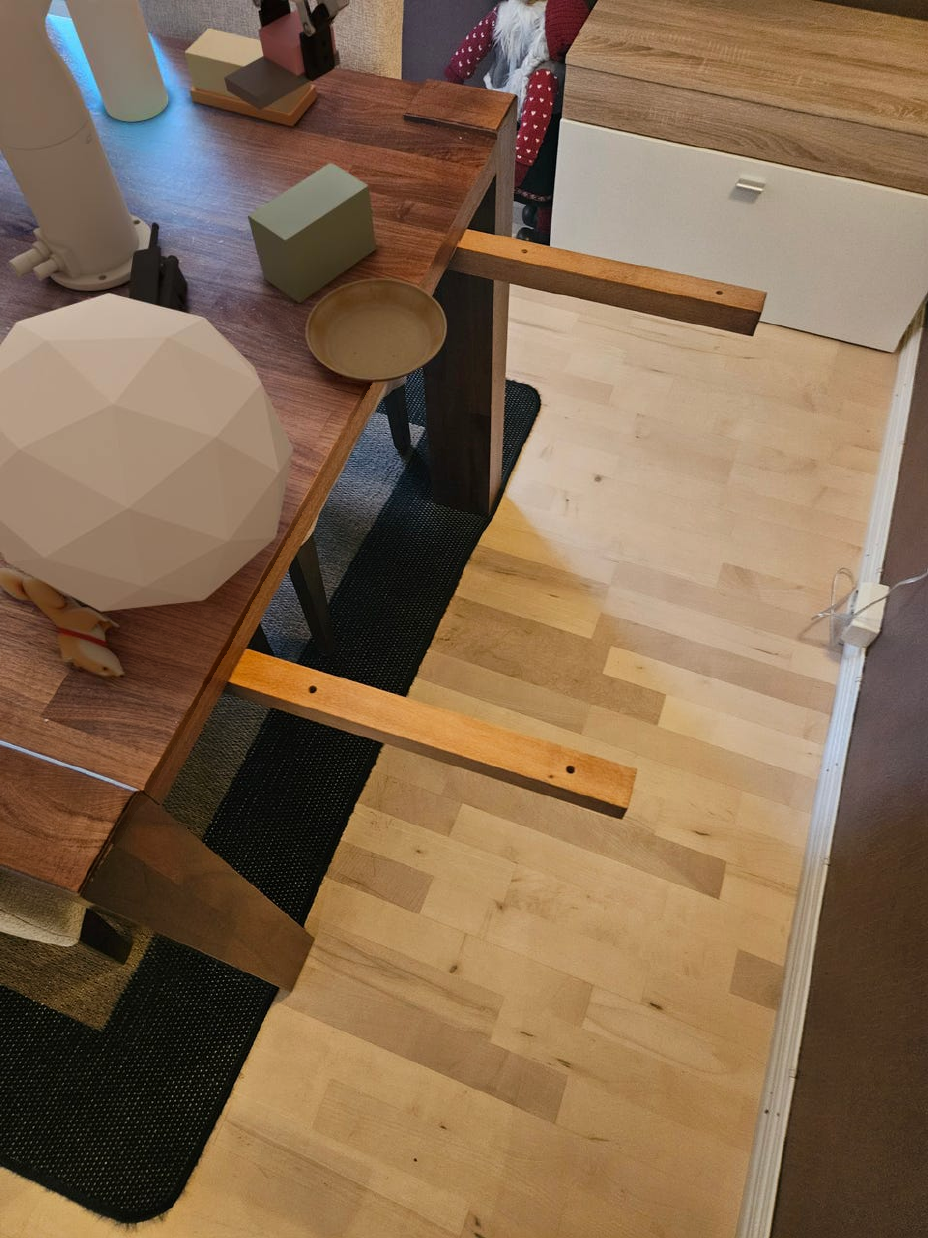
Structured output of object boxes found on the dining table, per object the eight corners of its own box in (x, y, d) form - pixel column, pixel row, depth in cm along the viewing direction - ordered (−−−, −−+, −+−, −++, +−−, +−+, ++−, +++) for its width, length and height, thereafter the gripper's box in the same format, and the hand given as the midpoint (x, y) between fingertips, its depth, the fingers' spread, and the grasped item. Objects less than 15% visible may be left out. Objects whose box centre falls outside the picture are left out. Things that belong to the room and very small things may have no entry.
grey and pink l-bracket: (259, 110, 76) (251, 71, 73) (226, 90, 77) (217, 50, 74) (340, 63, 79) (335, 24, 76) (307, 45, 81) (301, 6, 78)
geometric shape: (-103, 339, 67) (-139, 595, 55) (136, 163, 60) (156, 410, 48) (124, 486, 87) (136, 700, 74) (324, 366, 80) (373, 579, 68)
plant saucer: (472, 327, 91) (472, 307, 89) (400, 416, 85) (398, 398, 83) (359, 280, 95) (356, 261, 93) (282, 364, 89) (277, 345, 87)
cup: (175, 86, 113) (133, -54, 99) (159, 123, 109) (113, -18, 95) (116, 83, 113) (65, -57, 99) (97, 119, 110) (42, -21, 96)
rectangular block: (299, 303, 93) (285, 240, 86) (263, 278, 95) (247, 214, 88) (376, 249, 97) (369, 185, 90) (340, 226, 99) (330, 161, 92)
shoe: (317, 96, 112) (309, 48, 106) (292, 126, 109) (283, 78, 103) (219, 73, 114) (207, 24, 109) (192, 101, 111) (178, 52, 106)
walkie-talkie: (189, 344, 87) (202, 213, 96) (128, 319, 83) (147, 186, 92) (169, 379, 91) (183, 251, 100) (110, 358, 88) (129, 227, 97)
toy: (157, 648, 72) (123, 698, 72) (23, 559, 78) (-10, 604, 77) (135, 638, 69) (100, 690, 68) (-3, 546, 74) (-38, 593, 74)
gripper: (148, -213, 64) (212, 45, 80) (298, -145, 59) (334, 117, 75) (224, -242, 67) (271, 13, 83) (375, -179, 61) (393, 81, 77)
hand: (300, 60), depth 79 cm, fingers closed on grey and pink l-bracket, 4 cm apart
